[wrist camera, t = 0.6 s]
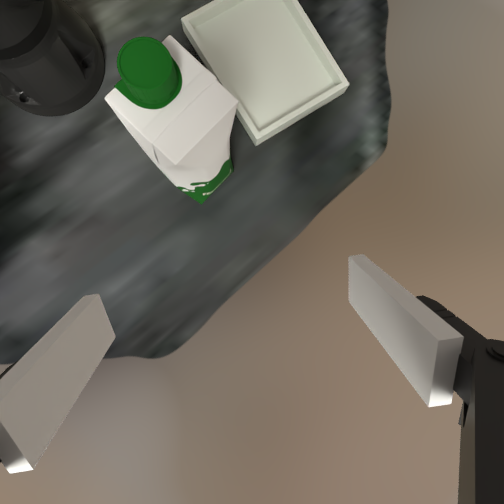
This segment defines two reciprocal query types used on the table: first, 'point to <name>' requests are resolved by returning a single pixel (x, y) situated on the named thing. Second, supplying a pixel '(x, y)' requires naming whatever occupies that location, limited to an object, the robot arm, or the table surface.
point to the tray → (265, 61)
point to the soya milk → (175, 113)
